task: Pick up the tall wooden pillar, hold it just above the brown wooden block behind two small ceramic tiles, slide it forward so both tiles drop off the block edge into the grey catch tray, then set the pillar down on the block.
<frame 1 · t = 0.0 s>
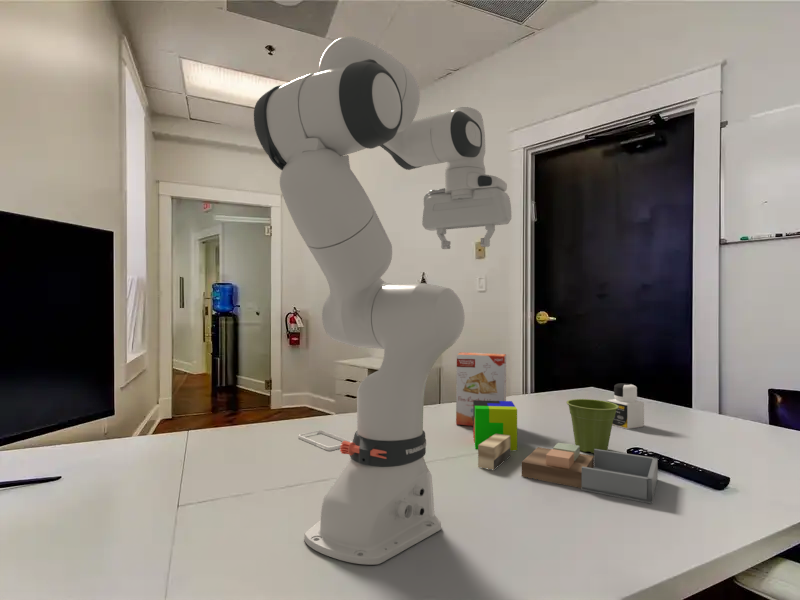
hand: (465, 247, 107), 48 cm above the table, tool pointing down, fingers open, 8 cm apart
tile terracotta: (560, 463, 99), point 3 cm above the table, touching brown wooden block
catch tray: (620, 484, 96), on the table
tile sage: (566, 456, 104), point 3 cm above the table, touching brown wooden block
plant pot: (592, 450, 118), on the table
cracker box: (481, 425, 142), on the table
medicine bottle: (625, 425, 142), on the table
brown wooden block: (558, 473, 102), on the table
puzzle toy: (494, 445, 123), on the table
phone case: (324, 444, 125), on the table
tall wooden pillar: (494, 462, 109), on the table
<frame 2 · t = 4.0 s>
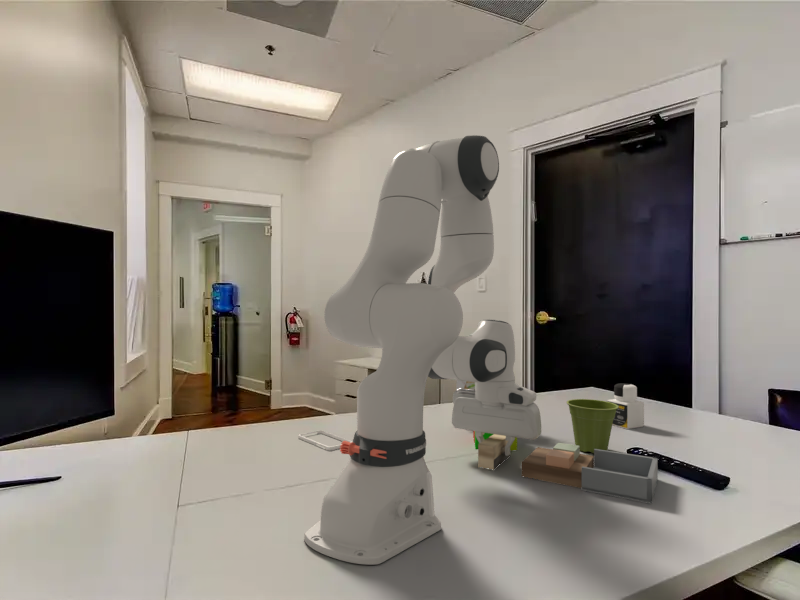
hand: (494, 453, 109), 2 cm above the table, tool pointing down, fingers closed on tall wooden pillar, 3 cm apart
tall wooden pillar: (494, 461, 109), on the table, touching gripper
everything else where it was.
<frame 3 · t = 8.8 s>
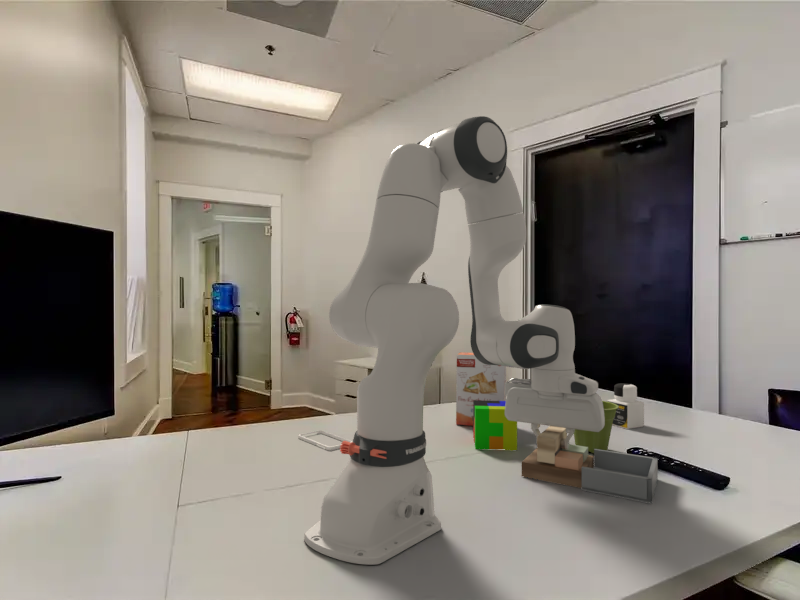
hand: (552, 446, 103), 5 cm above the table, tool pointing down, fingers closed on tall wooden pillar, 3 cm apart
tile terracotta: (569, 465, 98), point 3 cm above the table, touching tall wooden pillar
tile sage: (575, 457, 103), point 3 cm above the table, touching brown wooden block
tall wooden pillar: (552, 455, 103), point 3 cm above the table, touching gripper, tile terracotta
everything else where it was.
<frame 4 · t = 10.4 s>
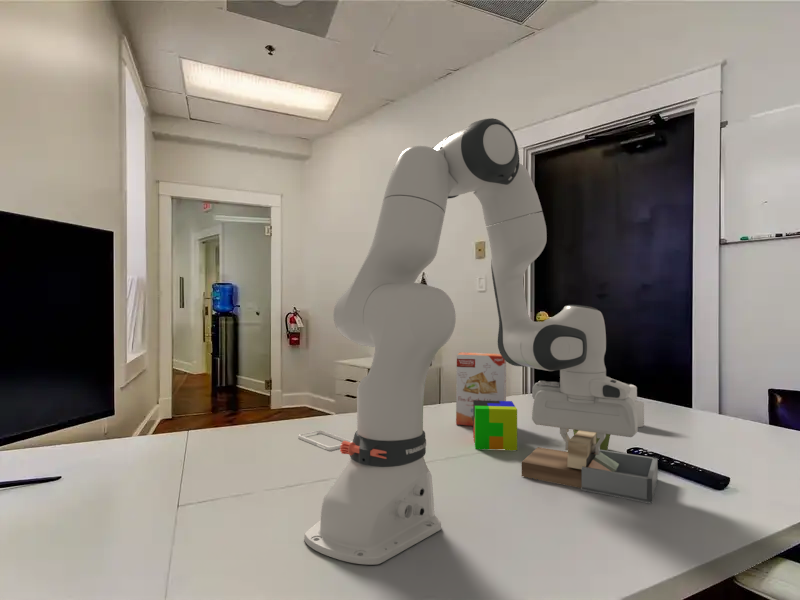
hand: (582, 451, 99), 5 cm above the table, tool pointing down, fingers closed on tall wooden pillar, 4 cm apart
tile terracotta: (596, 477, 95), point 2 cm above the table, tilted 26°, touching catch tray, tall wooden pillar
tile sage: (602, 468, 100), point 2 cm above the table, tilted 26°, touching catch tray, tall wooden pillar
tall wooden pillar: (582, 461, 99), point 3 cm above the table, touching gripper, tile sage, tile terracotta
everything else where it was.
when the fingers open (5 cm above the table, at t = 11.8 s): tall wooden pillar stays where it is, resting on brown wooden block.
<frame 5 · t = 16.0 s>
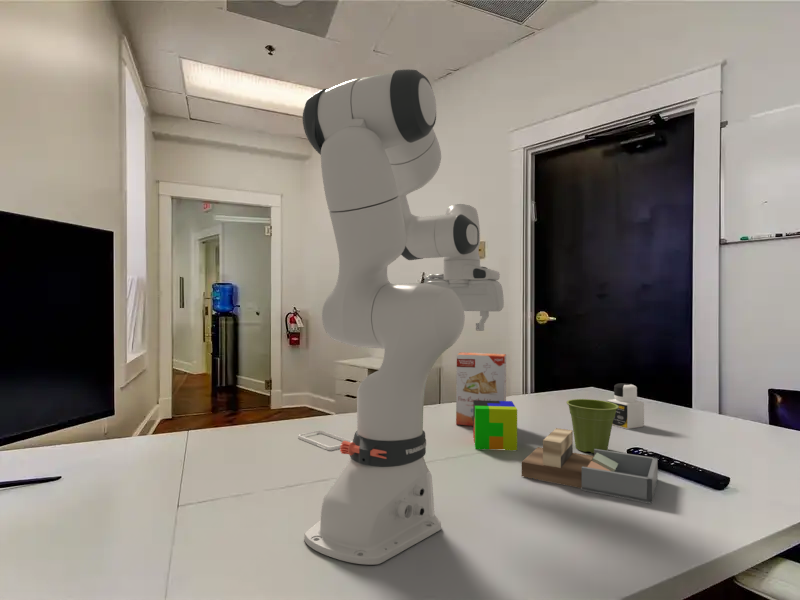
hand: (461, 330, 118), 29 cm above the table, tool pointing down, fingers open, 8 cm apart
tile terracotta: (596, 478, 95), point 1 cm above the table, tilted 21°, touching brown wooden block, catch tray
tile sage: (602, 469, 100), point 1 cm above the table, tilted 21°, touching brown wooden block, catch tray
tall wooden pillar: (558, 458, 102), point 3 cm above the table, touching brown wooden block
everything else where it was.
at the end: tile terracotta inside the target area (5.5 cm from its centre), point 1.4 cm above the table; tile sage inside the target area (5.4 cm from its centre), point 1.4 cm above the table; the gripper is holding nothing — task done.
